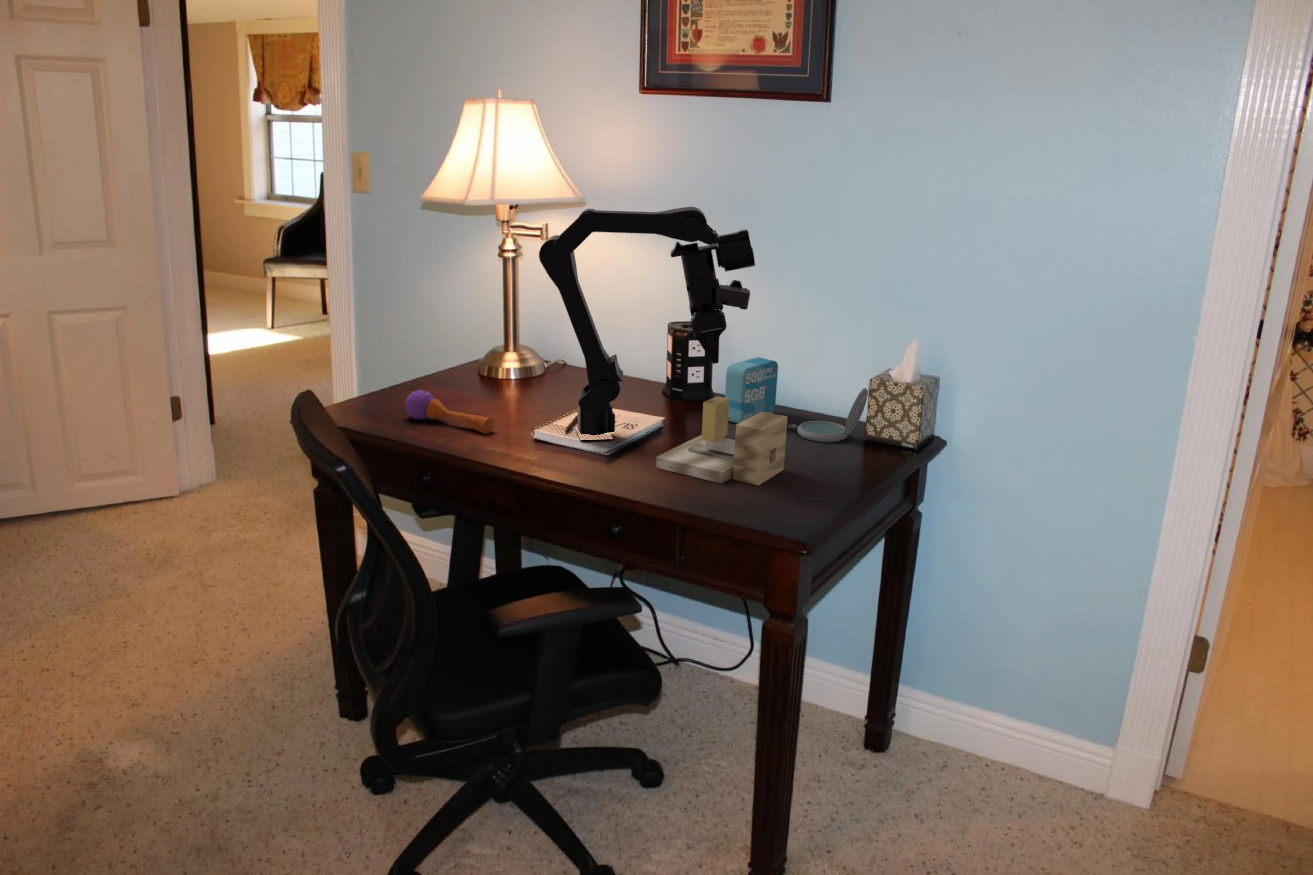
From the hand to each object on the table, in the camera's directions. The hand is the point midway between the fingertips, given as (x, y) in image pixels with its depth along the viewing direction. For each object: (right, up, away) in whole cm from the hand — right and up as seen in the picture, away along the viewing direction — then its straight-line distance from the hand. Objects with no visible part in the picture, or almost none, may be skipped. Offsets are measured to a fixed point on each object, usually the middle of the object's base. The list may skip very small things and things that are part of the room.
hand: (714, 357), depth 202 cm
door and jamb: (+1, -20, -9) cm, 22 cm away
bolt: (+1, -17, -10) cm, 20 cm away
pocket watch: (+22, -15, +11) cm, 29 cm away
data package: (+8, -11, +20) cm, 25 cm away
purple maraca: (-52, -13, +10) cm, 55 cm away
